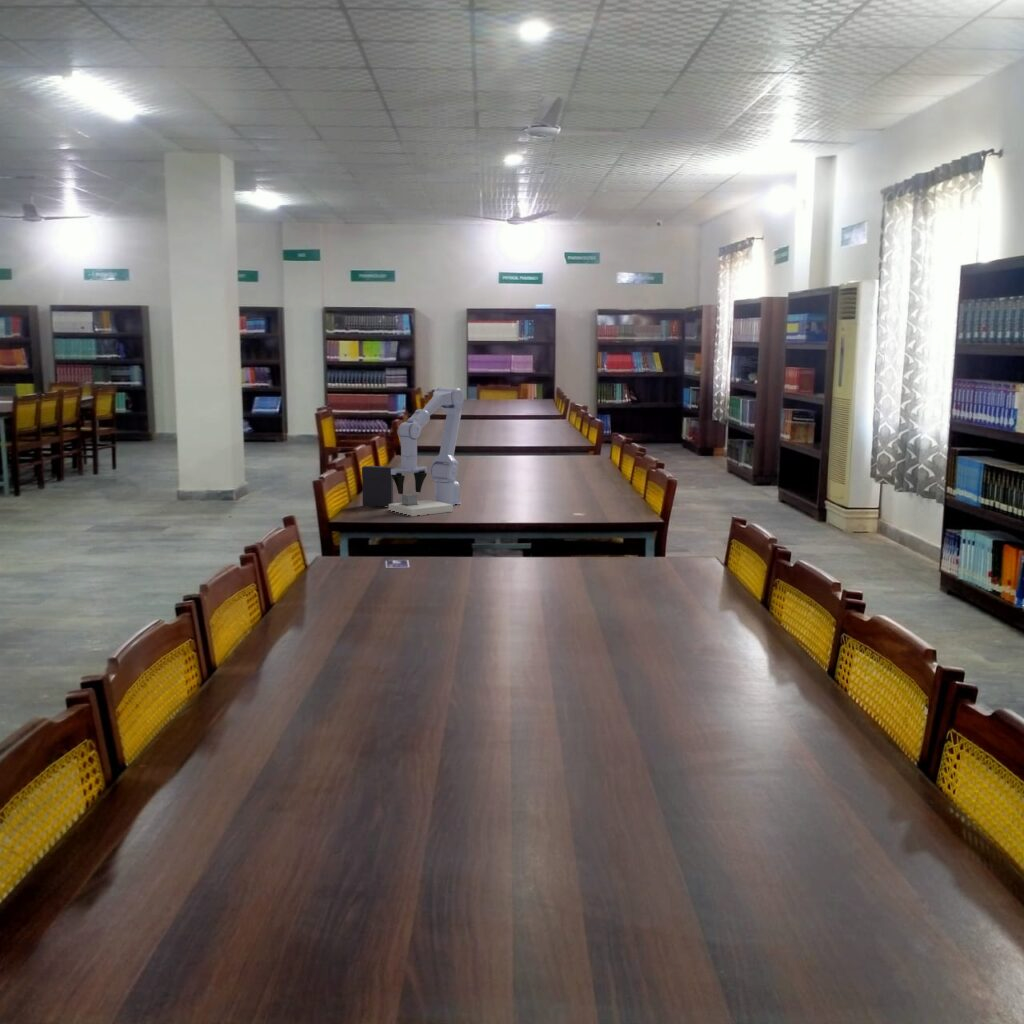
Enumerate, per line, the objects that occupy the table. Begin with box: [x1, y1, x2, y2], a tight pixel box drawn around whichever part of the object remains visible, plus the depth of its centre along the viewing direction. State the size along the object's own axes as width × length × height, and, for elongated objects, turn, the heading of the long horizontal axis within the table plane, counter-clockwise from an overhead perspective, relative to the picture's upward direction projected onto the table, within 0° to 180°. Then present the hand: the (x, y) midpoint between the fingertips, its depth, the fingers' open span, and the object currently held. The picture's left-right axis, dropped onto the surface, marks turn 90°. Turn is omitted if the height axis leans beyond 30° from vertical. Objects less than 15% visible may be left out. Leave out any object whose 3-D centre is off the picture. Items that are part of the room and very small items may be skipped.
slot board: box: [388, 499, 454, 517], centre depth 352 cm, size 18×15×2 cm
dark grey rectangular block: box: [361, 465, 394, 508], centre depth 360 cm, size 11×4×15 cm, turn 84°
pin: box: [401, 493, 418, 506], centre depth 352 cm, size 4×4×6 cm
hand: (409, 493), depth 352 cm, fingers open, 7 cm apart
